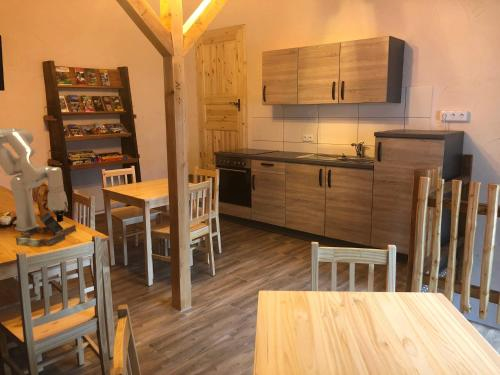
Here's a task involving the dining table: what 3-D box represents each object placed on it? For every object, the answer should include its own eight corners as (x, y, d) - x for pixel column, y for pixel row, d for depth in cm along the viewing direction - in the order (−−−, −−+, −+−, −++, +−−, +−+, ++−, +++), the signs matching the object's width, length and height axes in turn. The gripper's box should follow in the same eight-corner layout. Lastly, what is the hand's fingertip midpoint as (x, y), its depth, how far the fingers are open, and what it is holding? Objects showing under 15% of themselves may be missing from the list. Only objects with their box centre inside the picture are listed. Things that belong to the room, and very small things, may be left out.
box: (63, 228, 234) (51, 215, 229) (55, 235, 232) (42, 222, 226) (59, 225, 240) (47, 211, 235) (51, 231, 238) (38, 218, 232)
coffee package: (40, 219, 264) (36, 184, 259) (38, 214, 274) (34, 181, 270) (57, 216, 269) (53, 183, 264) (55, 212, 279) (51, 179, 275)
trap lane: (9, 243, 220) (8, 237, 219) (48, 228, 245) (47, 222, 245) (46, 247, 213) (45, 241, 213) (82, 231, 239) (81, 225, 238)
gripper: (40, 190, 232) (44, 222, 235) (63, 191, 228) (66, 224, 231) (50, 187, 239) (53, 219, 242) (72, 188, 235) (76, 220, 238)
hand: (60, 221), depth 237 cm, fingers closed
